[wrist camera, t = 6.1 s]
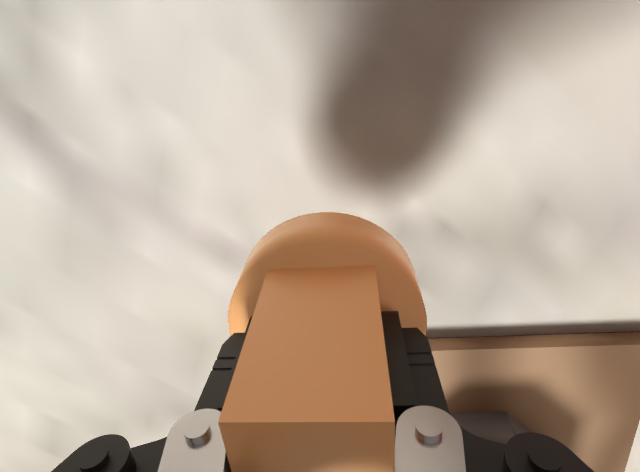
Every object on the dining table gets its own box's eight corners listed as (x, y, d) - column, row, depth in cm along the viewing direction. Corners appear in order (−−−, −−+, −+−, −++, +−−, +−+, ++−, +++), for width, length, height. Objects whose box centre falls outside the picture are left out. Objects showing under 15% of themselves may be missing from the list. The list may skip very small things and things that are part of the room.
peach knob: (256, 357, 16) (197, 575, 9) (229, 216, 13) (120, 390, 7) (413, 355, 15) (462, 583, 9) (419, 207, 12) (494, 385, 6)
